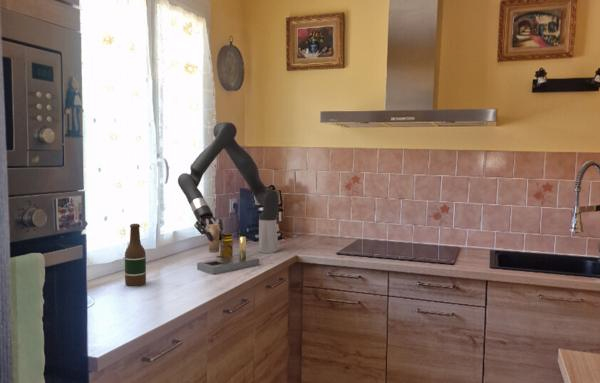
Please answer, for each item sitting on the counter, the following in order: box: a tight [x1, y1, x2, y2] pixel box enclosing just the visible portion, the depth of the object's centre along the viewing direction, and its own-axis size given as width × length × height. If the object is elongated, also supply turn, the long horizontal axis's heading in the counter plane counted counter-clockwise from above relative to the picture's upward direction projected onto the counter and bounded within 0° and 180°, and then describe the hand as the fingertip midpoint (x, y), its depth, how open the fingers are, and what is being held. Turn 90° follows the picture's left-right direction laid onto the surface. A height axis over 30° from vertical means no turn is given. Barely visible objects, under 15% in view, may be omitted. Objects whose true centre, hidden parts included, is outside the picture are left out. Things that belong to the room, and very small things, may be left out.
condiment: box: [213, 232, 234, 259], centre depth 236 cm, size 7×8×12 cm
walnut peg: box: [208, 224, 220, 253], centre depth 209 cm, size 4×4×12 cm
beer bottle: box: [124, 223, 147, 287], centre depth 185 cm, size 8×8×24 cm
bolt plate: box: [196, 236, 260, 275], centre depth 215 cm, size 26×12×13 cm, turn 136°
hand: (216, 239), depth 208 cm, fingers closed on walnut peg, 4 cm apart
